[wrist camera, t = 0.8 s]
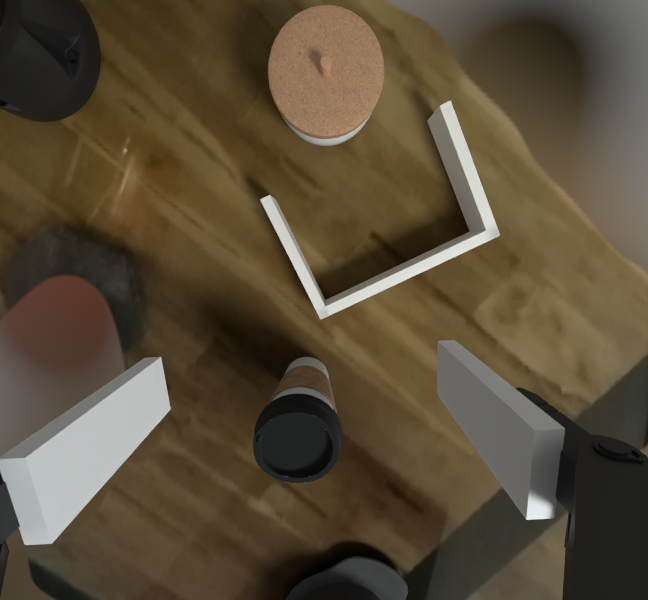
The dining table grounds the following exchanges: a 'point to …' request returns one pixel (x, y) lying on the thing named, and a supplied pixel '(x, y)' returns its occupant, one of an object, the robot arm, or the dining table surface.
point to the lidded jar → (326, 74)
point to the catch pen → (480, 232)
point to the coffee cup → (299, 425)
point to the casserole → (353, 582)
